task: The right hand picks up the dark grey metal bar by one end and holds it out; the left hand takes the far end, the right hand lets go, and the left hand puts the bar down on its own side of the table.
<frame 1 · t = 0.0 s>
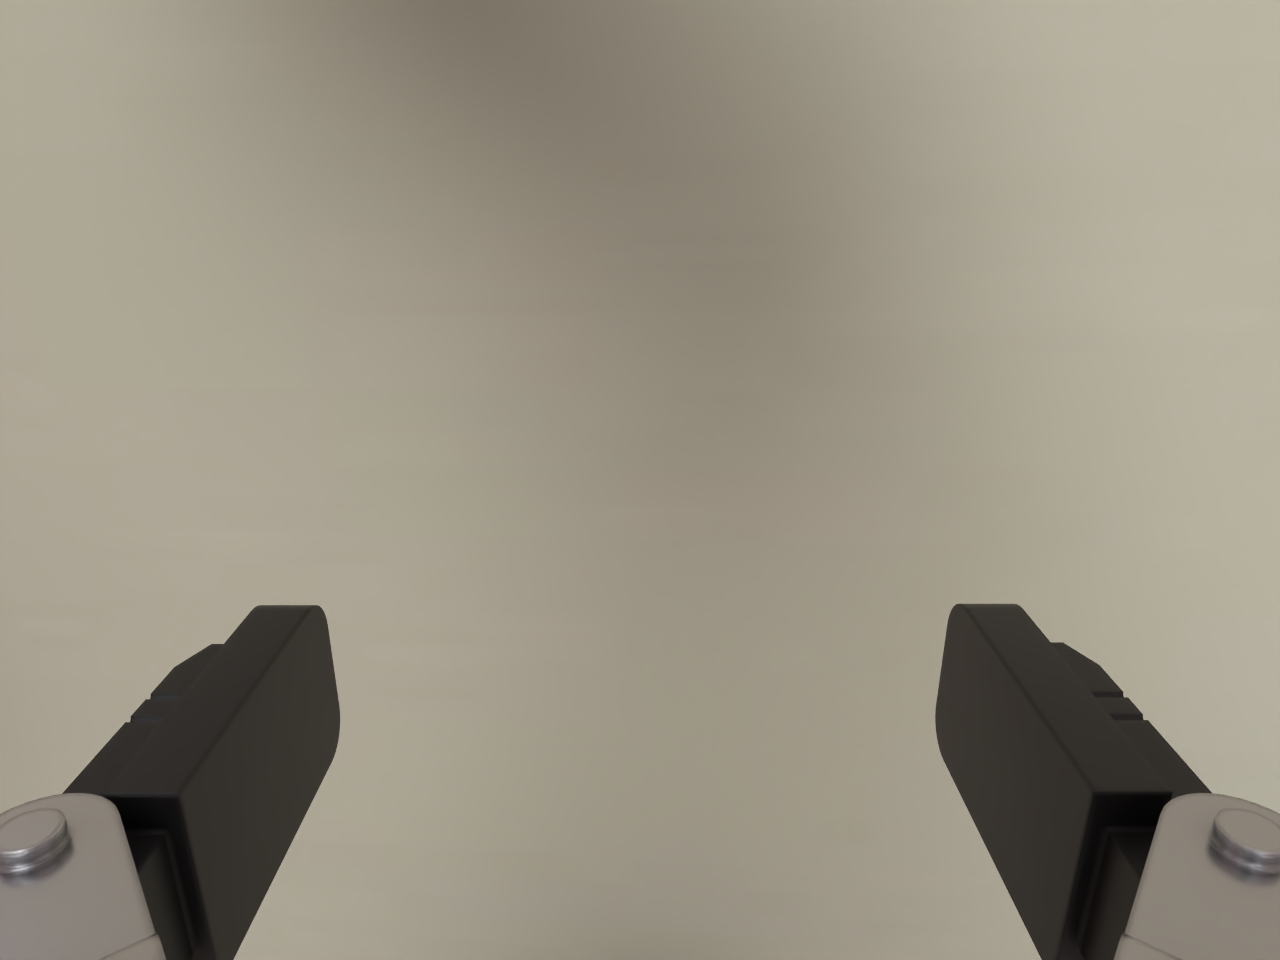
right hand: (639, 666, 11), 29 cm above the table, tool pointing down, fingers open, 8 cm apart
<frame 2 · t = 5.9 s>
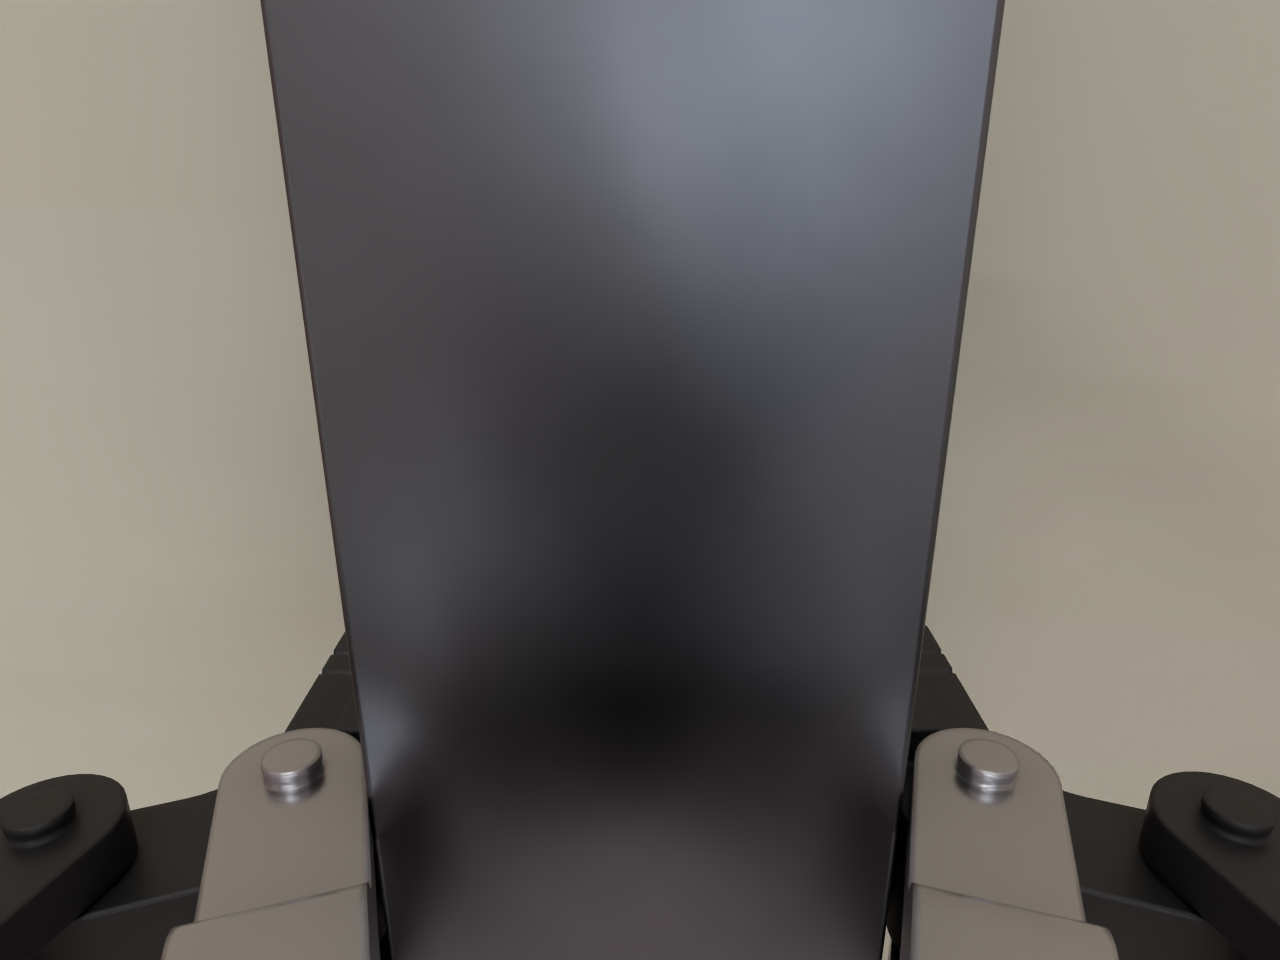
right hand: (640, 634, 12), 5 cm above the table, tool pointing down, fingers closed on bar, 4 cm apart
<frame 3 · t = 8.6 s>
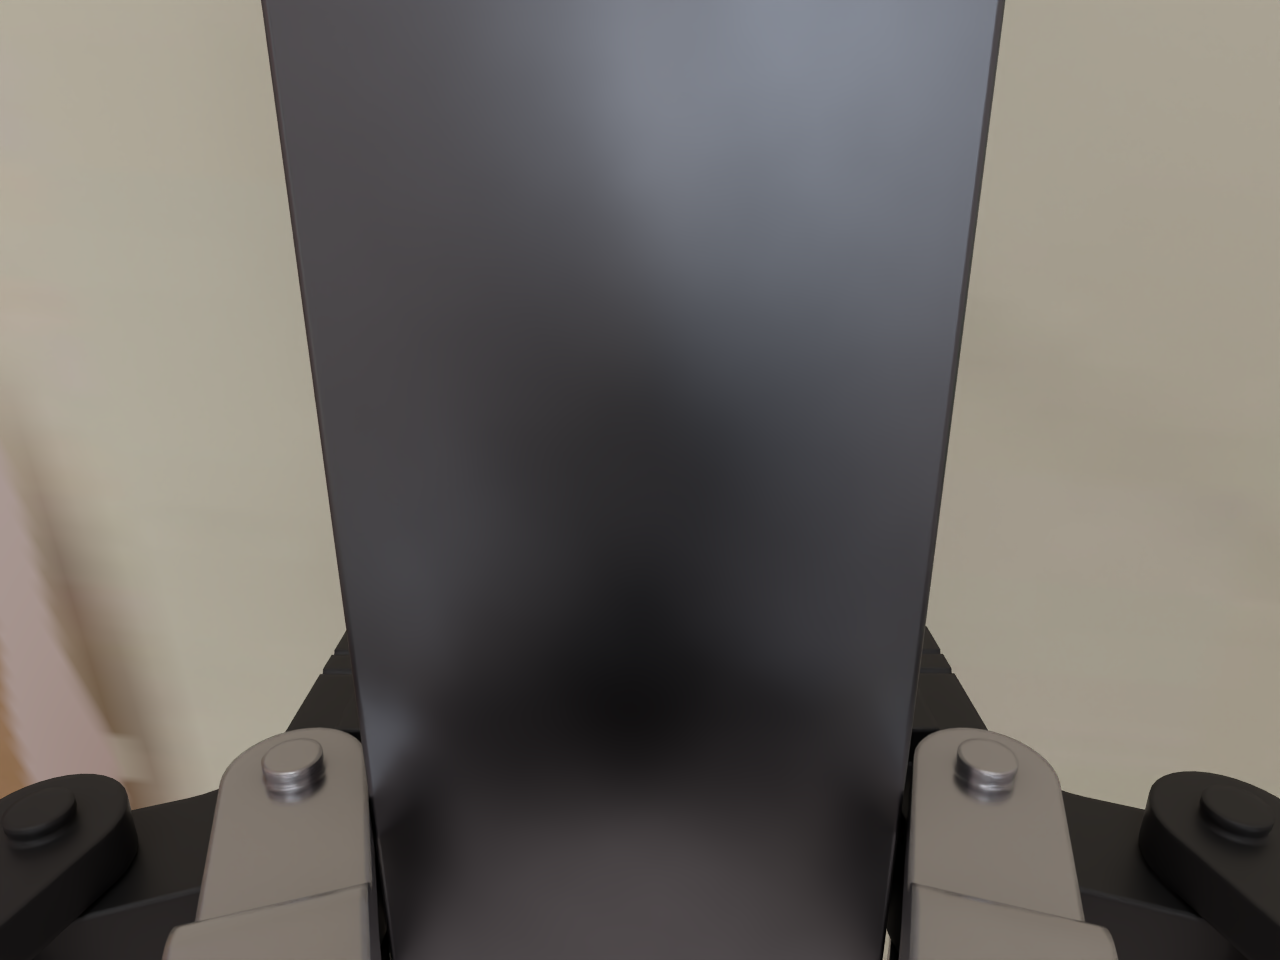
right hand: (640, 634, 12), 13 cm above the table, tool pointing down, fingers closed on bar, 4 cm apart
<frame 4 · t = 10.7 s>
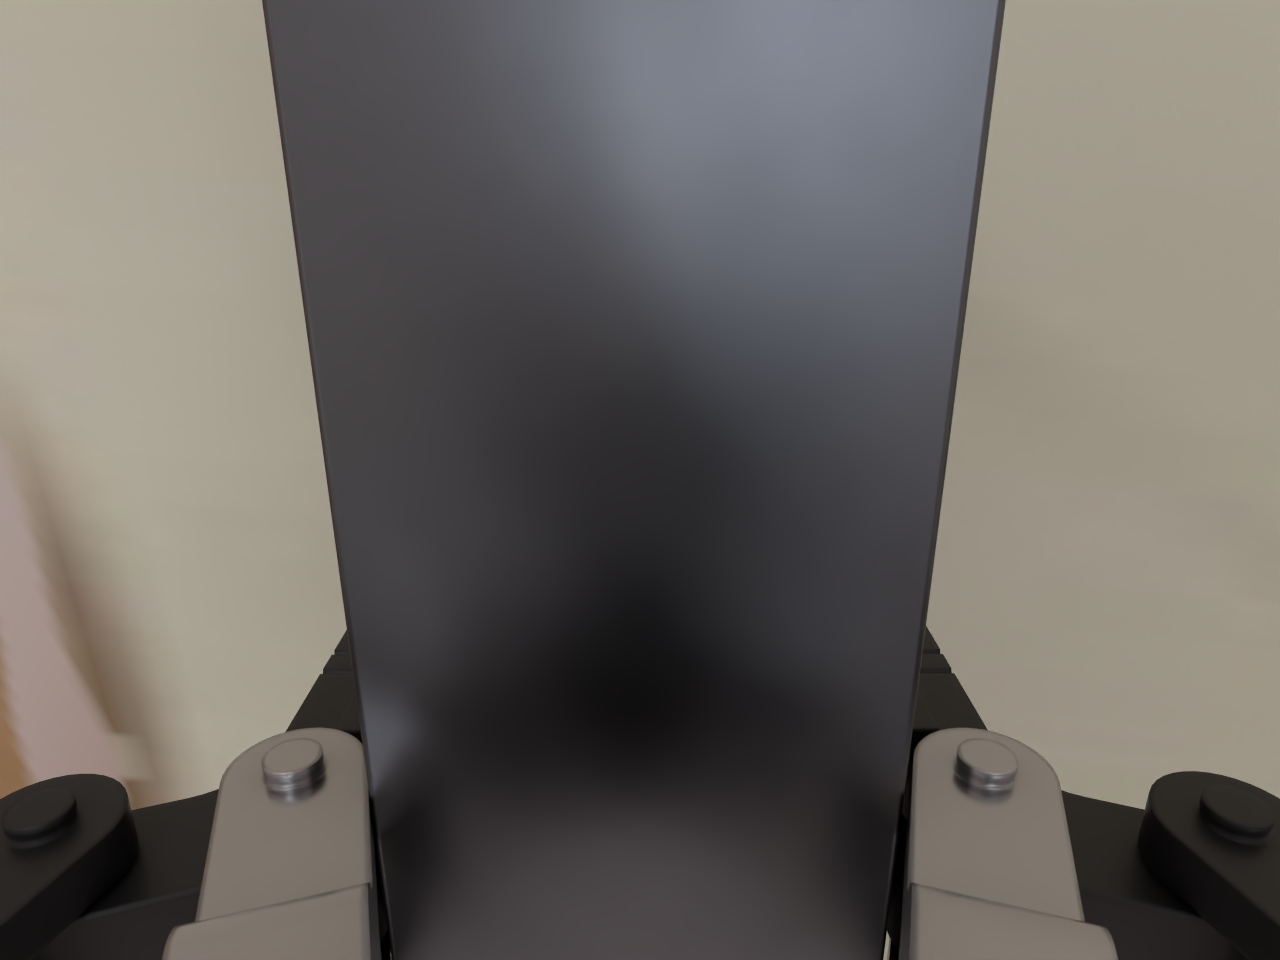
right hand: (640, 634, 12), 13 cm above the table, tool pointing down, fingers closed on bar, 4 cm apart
when the right hand's fingers open (13 cm above the table, at t = 11.6 s): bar stays where it is, held by the left hand.
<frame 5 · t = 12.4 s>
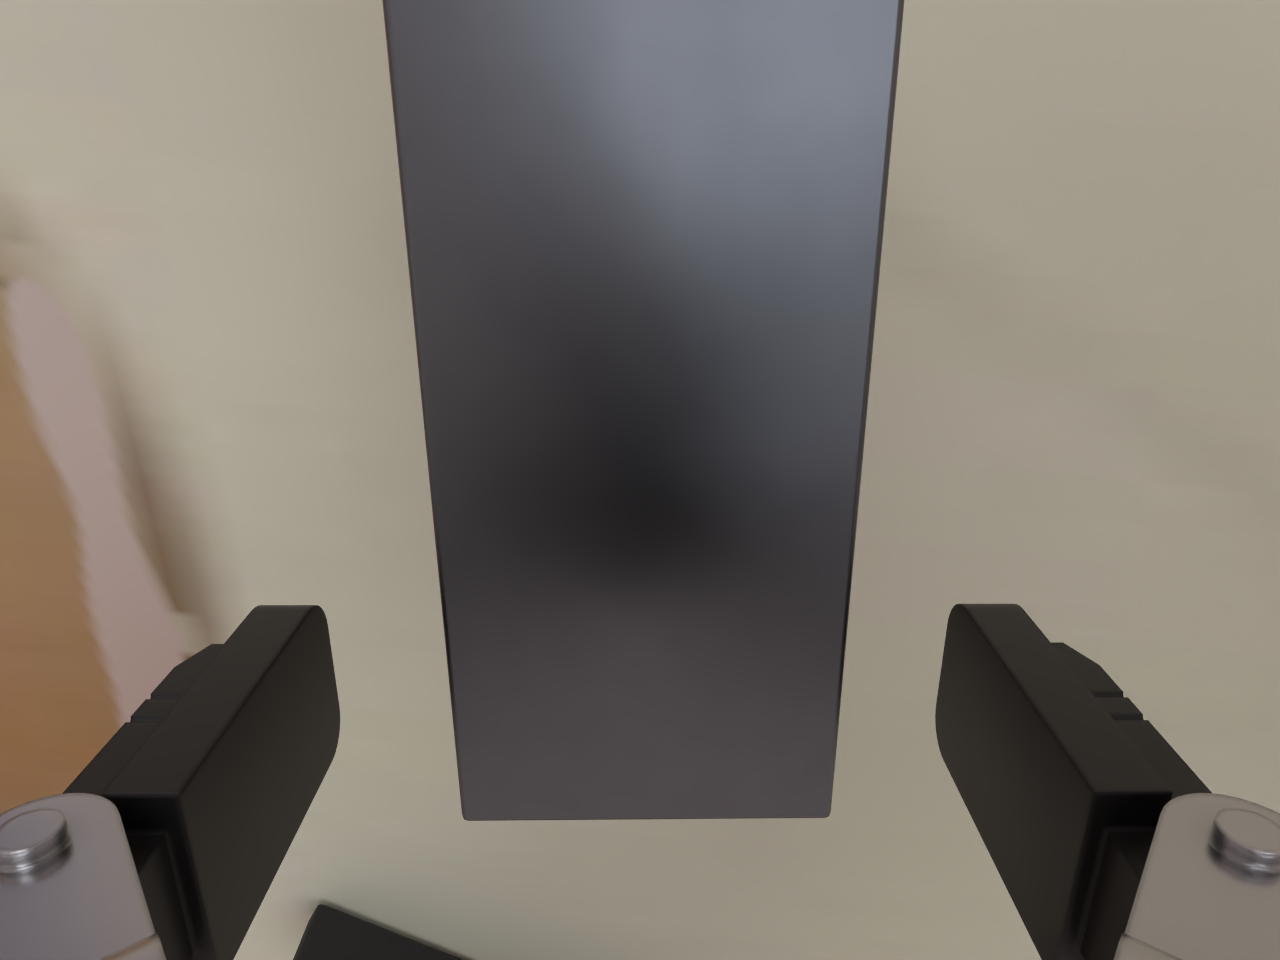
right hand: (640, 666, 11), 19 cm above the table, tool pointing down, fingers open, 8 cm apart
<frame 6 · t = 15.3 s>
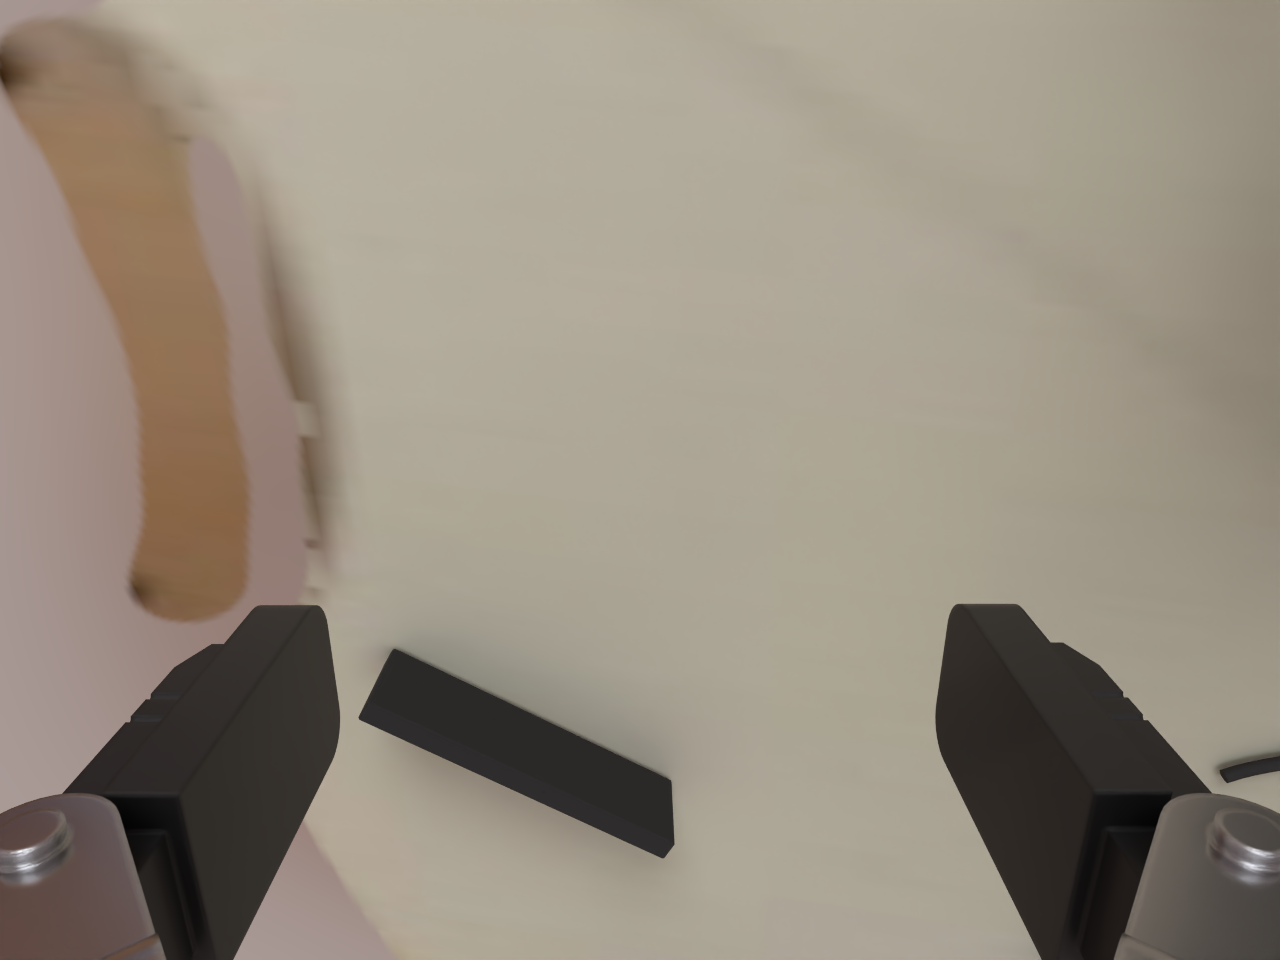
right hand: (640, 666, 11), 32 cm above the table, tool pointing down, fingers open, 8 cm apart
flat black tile: (532, 722, 50), on the table
when the left hand's fingers open (2 cm above the table, at t = 20.1 s): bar drops 1 cm, on the table.
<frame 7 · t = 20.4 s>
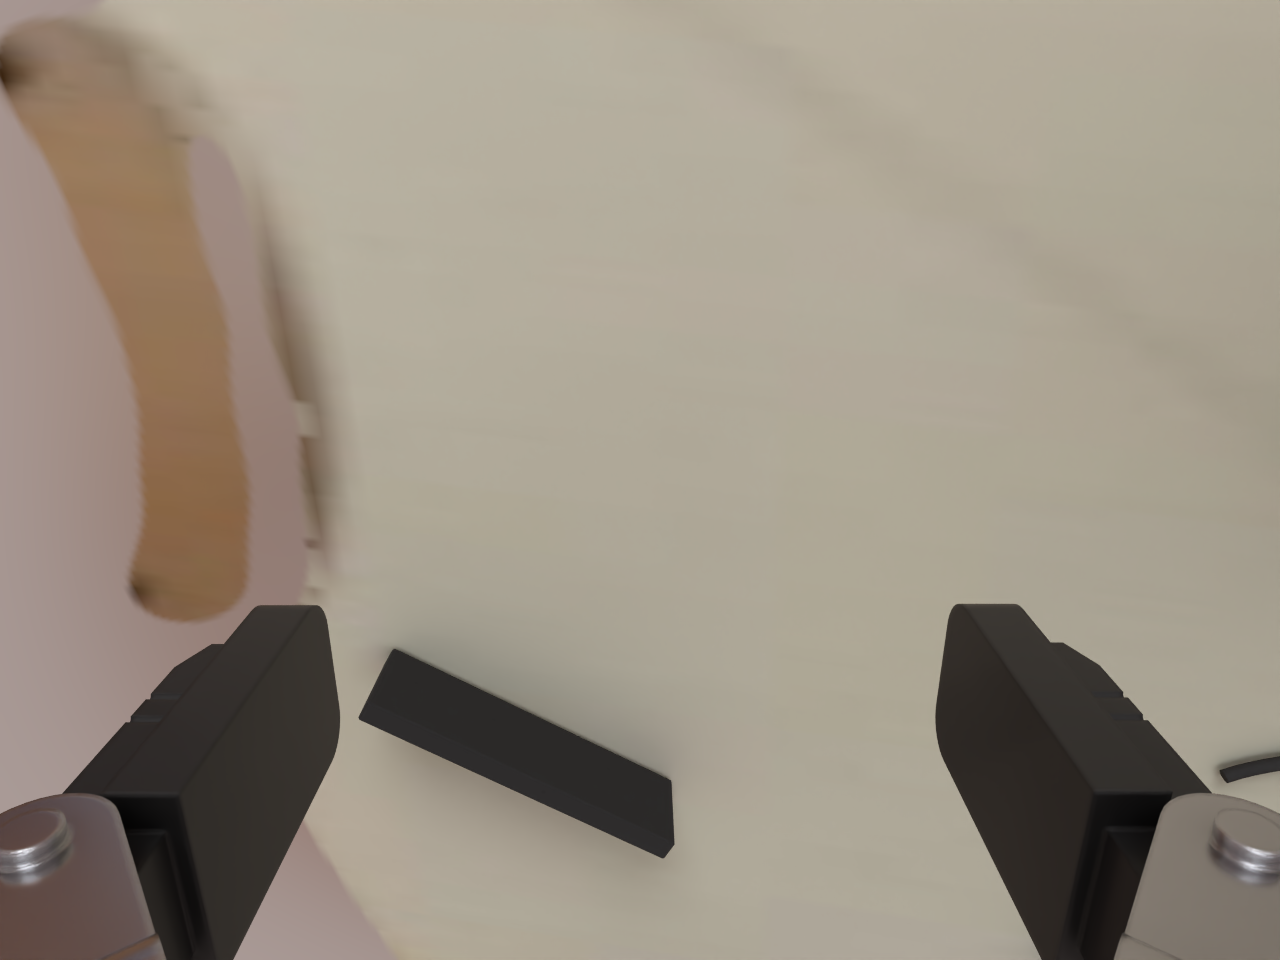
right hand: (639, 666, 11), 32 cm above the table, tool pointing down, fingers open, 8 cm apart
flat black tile: (532, 722, 50), on the table
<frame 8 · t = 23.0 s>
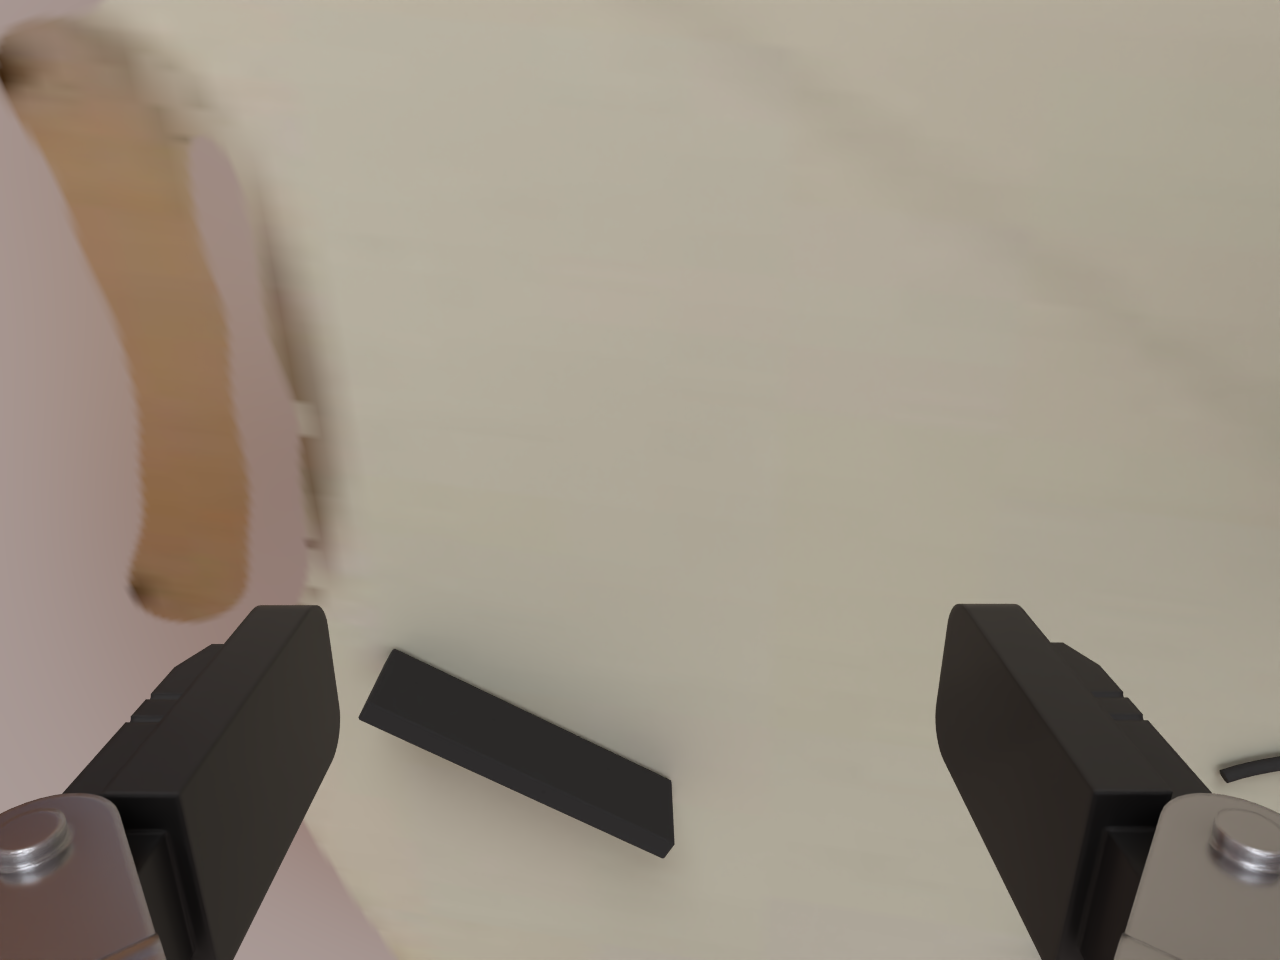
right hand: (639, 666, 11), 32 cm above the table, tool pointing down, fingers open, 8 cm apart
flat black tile: (532, 722, 50), on the table
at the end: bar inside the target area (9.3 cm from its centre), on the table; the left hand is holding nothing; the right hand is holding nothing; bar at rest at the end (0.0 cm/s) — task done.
